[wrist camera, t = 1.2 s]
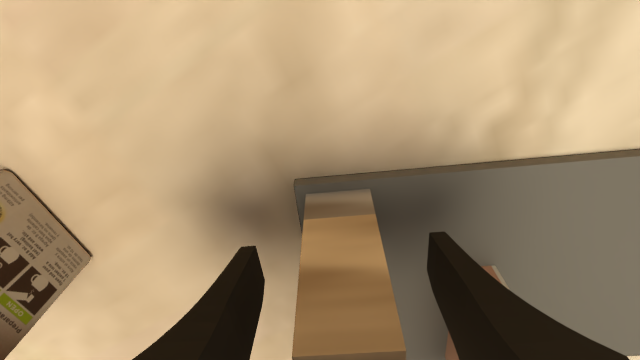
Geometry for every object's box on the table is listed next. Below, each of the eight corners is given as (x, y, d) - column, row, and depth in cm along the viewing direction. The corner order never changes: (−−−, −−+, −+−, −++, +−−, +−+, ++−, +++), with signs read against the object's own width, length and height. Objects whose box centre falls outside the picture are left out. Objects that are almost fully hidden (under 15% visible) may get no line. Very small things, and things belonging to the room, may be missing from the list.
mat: (639, 346, 22) (647, 355, 22) (325, 363, 24) (325, 371, 23) (765, 138, 15) (781, 143, 14) (294, 179, 16) (293, 186, 16)
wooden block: (371, 238, 17) (404, 410, 10) (313, 242, 17) (306, 414, 10) (369, 188, 16) (406, 350, 9) (305, 194, 16) (292, 357, 9)
